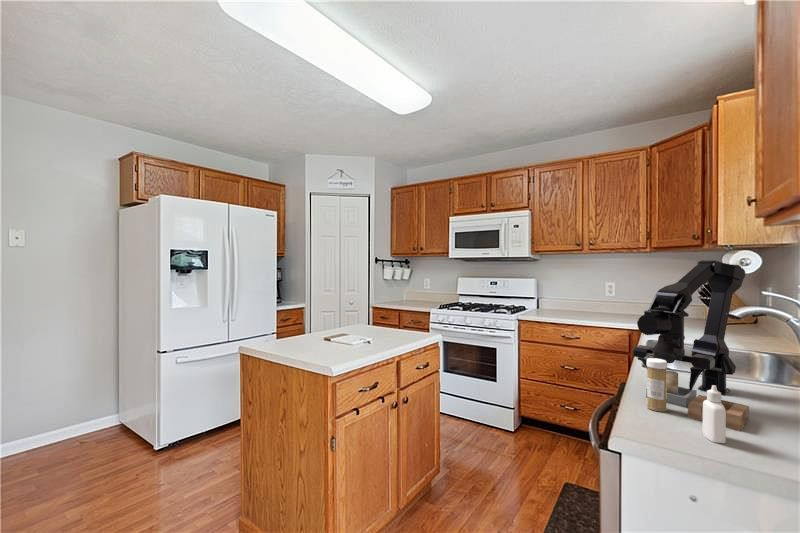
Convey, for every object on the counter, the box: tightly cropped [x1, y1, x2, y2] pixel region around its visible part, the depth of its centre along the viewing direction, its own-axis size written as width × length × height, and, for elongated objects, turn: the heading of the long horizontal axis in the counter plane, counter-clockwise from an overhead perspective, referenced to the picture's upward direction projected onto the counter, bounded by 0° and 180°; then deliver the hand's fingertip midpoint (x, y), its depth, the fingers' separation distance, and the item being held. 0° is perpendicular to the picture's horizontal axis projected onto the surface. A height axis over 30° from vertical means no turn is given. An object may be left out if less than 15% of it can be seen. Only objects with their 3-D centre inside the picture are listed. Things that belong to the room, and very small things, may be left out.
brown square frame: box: [687, 394, 750, 432], centre depth 95 cm, size 10×10×4 cm
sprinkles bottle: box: [646, 358, 668, 413], centre depth 101 cm, size 5×5×14 cm
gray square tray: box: [645, 385, 698, 408], centre depth 109 cm, size 10×10×3 cm
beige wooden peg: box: [666, 370, 679, 395], centre depth 109 cm, size 3×3×7 cm
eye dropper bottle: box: [702, 385, 727, 444], centre depth 85 cm, size 4×6×12 cm
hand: (671, 385), depth 109 cm, fingers open, 9 cm apart
